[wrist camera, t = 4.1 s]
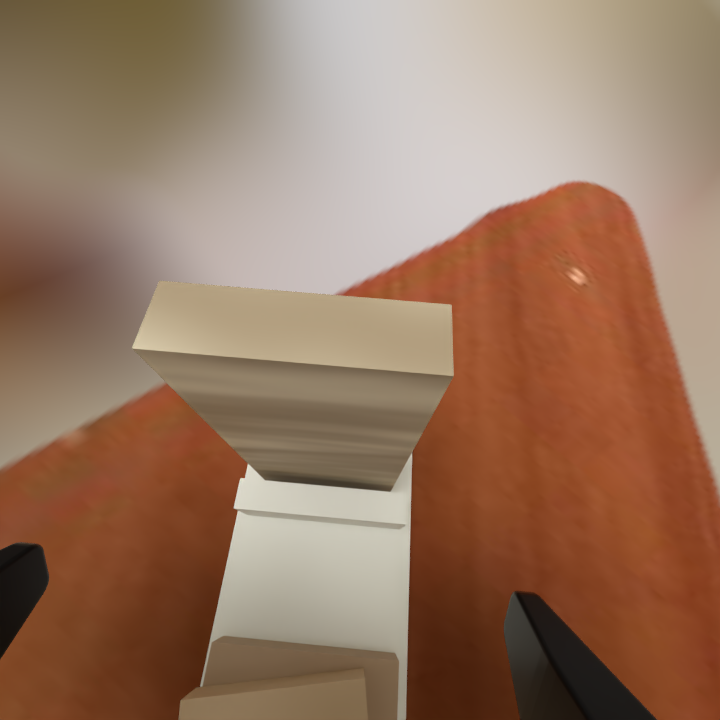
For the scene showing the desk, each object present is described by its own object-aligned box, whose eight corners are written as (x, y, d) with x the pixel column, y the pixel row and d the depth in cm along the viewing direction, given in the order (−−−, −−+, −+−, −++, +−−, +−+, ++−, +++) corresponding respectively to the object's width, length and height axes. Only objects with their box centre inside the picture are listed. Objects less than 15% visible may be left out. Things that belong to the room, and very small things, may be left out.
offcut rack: (398, 856, 14) (415, 954, 10) (176, 831, 14) (118, 919, 11) (410, 431, 21) (422, 404, 18) (263, 418, 21) (245, 389, 18)
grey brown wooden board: (390, 492, 19) (453, 375, 7) (265, 480, 19) (132, 348, 7) (391, 458, 19) (451, 304, 8) (271, 448, 20) (158, 280, 8)
